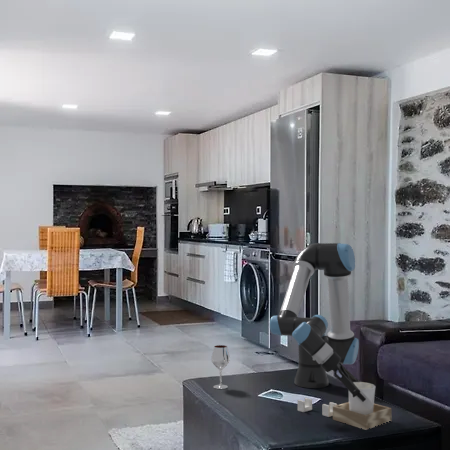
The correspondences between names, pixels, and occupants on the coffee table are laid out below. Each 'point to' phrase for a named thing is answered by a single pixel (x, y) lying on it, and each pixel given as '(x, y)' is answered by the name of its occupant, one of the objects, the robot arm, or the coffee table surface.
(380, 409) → the square wooden tray
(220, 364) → the wineglass
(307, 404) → the clips
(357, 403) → the candle holder
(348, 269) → the robot arm
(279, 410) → the coffee table surface
